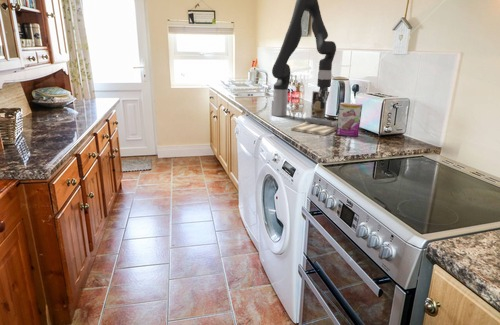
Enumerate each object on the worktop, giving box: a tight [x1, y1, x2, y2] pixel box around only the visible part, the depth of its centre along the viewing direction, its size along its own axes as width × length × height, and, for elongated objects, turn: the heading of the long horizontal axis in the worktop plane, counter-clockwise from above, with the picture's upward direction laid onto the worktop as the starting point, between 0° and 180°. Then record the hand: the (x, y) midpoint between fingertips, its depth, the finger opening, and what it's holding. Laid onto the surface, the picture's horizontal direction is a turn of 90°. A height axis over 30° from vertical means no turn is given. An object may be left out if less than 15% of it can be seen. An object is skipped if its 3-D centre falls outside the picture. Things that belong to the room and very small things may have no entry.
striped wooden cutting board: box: [290, 121, 337, 136], centre depth 191 cm, size 20×25×2 cm
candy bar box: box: [335, 102, 363, 138], centre depth 176 cm, size 11×5×16 cm, turn 71°
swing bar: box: [304, 117, 338, 126], centre depth 194 cm, size 19×4×2 cm, turn 56°
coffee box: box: [309, 90, 327, 119], centre depth 223 cm, size 9×6×16 cm
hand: (322, 108), depth 200 cm, fingers closed
